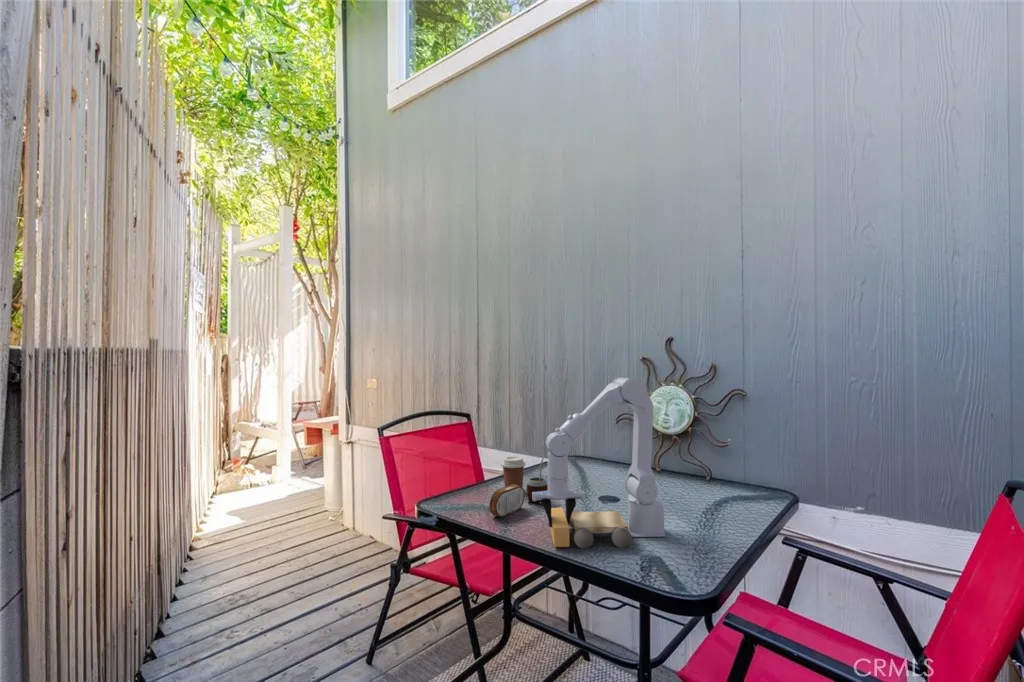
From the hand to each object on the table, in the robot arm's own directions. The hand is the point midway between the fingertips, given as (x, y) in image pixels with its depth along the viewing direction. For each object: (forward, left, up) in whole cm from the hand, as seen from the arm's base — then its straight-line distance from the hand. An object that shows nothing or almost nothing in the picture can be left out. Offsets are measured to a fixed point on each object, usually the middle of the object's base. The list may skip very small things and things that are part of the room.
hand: (558, 525), depth 135 cm
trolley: (-11, 0, -3) cm, 11 cm away
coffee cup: (+12, -45, -3) cm, 47 cm away
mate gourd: (+4, -31, -4) cm, 31 cm away
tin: (+14, -21, -4) cm, 26 cm away
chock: (0, 0, -3) cm, 3 cm away
